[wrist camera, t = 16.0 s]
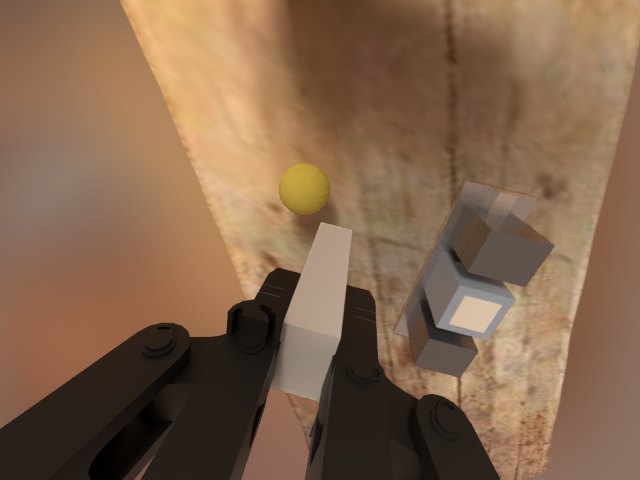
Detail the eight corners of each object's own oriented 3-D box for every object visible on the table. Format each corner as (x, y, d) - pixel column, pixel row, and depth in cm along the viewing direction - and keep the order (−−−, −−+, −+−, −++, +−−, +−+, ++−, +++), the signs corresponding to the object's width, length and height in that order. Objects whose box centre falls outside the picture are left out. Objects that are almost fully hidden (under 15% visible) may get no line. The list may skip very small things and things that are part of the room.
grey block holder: (463, 179, 39) (493, 202, 30) (534, 196, 38) (584, 225, 29) (393, 329, 53) (398, 374, 44) (444, 342, 52) (460, 391, 43)
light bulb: (340, 192, 42) (333, 216, 33) (300, 202, 44) (283, 228, 35) (327, 148, 39) (316, 162, 31) (285, 162, 41) (263, 178, 32)
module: (442, 251, 43) (460, 286, 35) (487, 262, 43) (516, 300, 34) (424, 288, 46) (436, 328, 38) (466, 299, 46) (487, 341, 38)
